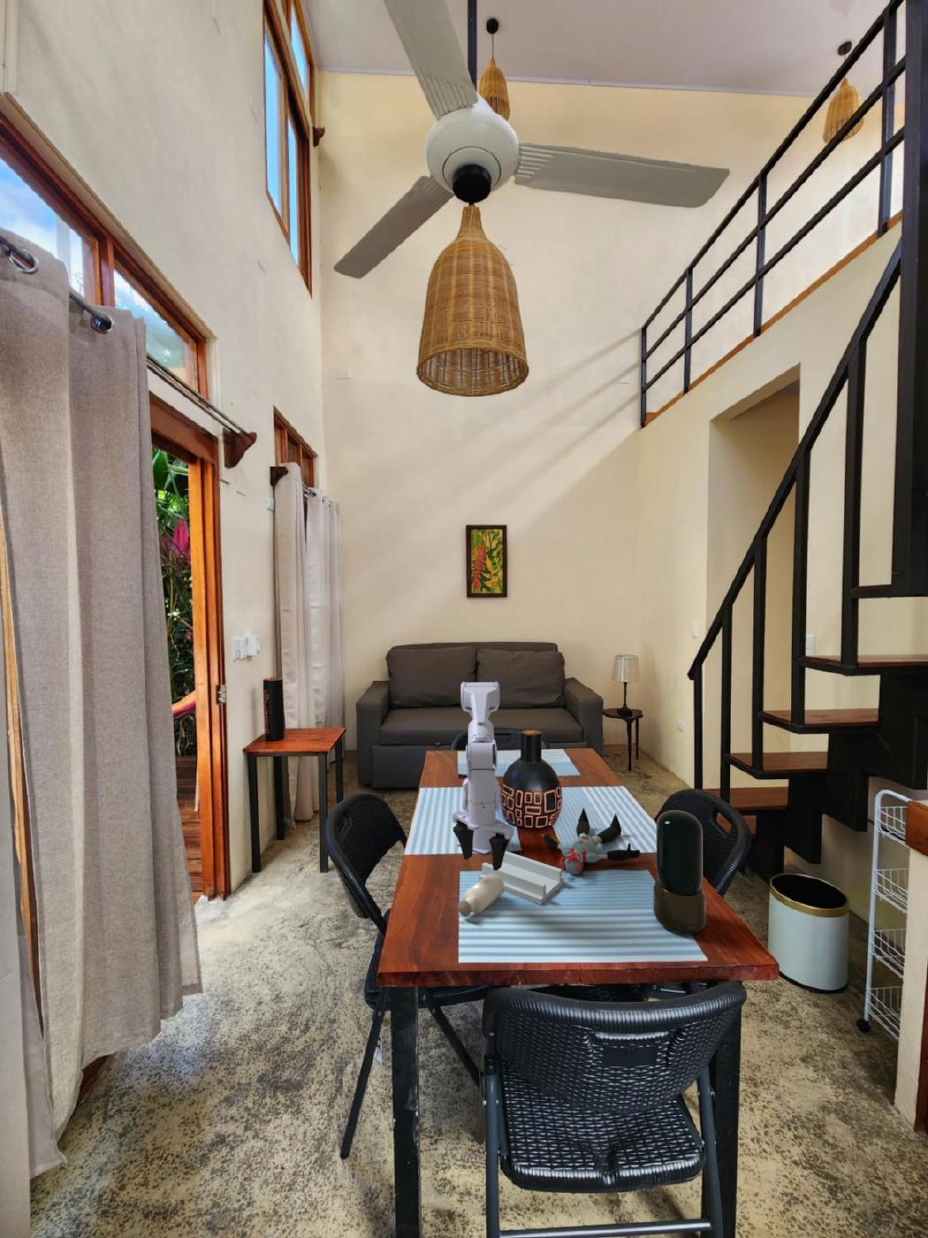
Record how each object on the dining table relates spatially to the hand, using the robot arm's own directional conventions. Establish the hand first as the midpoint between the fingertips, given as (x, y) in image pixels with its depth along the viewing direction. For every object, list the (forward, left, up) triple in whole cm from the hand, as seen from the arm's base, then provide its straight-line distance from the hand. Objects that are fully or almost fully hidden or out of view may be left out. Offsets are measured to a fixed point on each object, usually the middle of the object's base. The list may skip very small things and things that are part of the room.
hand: (482, 863), depth 109 cm
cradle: (+2, +13, -9) cm, 15 cm away
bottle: (0, -1, -9) cm, 9 cm away
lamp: (+35, +18, -9) cm, 40 cm away
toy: (+8, +34, -9) cm, 36 cm away
